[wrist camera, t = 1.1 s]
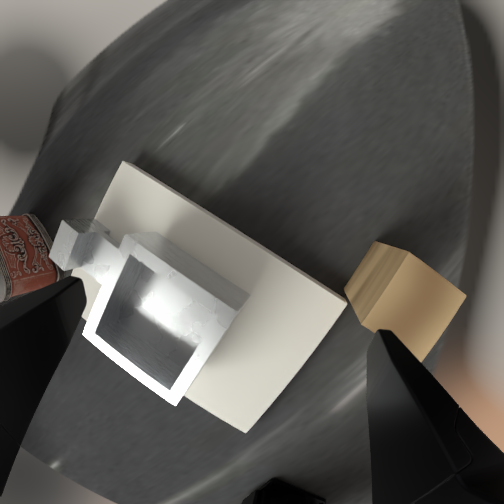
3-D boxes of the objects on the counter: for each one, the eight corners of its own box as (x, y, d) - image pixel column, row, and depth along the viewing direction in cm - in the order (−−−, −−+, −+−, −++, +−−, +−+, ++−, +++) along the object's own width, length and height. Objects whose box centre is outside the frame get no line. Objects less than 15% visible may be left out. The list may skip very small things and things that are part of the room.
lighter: (18, 228, 27) (-59, 234, 17) (33, 205, 26) (-48, 205, 16) (53, 293, 26) (-27, 318, 17) (70, 272, 26) (-15, 294, 16)
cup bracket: (253, 291, 22) (237, 311, 17) (200, 372, 23) (175, 406, 18) (107, 192, 23) (65, 188, 18) (72, 274, 24) (31, 284, 19)
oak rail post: (417, 271, 21) (466, 295, 13) (386, 317, 22) (421, 362, 14) (374, 240, 21) (409, 251, 14) (343, 289, 22) (361, 324, 14)
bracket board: (345, 298, 22) (347, 303, 21) (249, 423, 24) (245, 433, 23) (132, 163, 24) (122, 160, 22) (72, 295, 26) (62, 299, 25)
